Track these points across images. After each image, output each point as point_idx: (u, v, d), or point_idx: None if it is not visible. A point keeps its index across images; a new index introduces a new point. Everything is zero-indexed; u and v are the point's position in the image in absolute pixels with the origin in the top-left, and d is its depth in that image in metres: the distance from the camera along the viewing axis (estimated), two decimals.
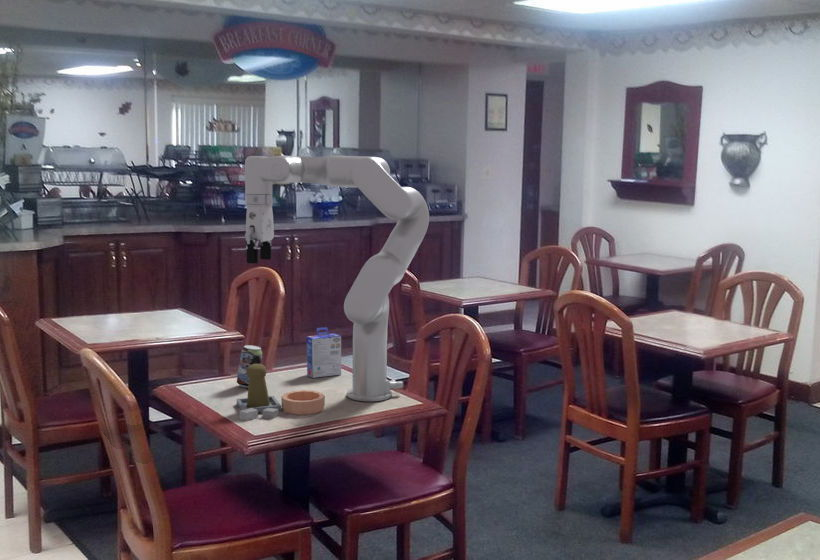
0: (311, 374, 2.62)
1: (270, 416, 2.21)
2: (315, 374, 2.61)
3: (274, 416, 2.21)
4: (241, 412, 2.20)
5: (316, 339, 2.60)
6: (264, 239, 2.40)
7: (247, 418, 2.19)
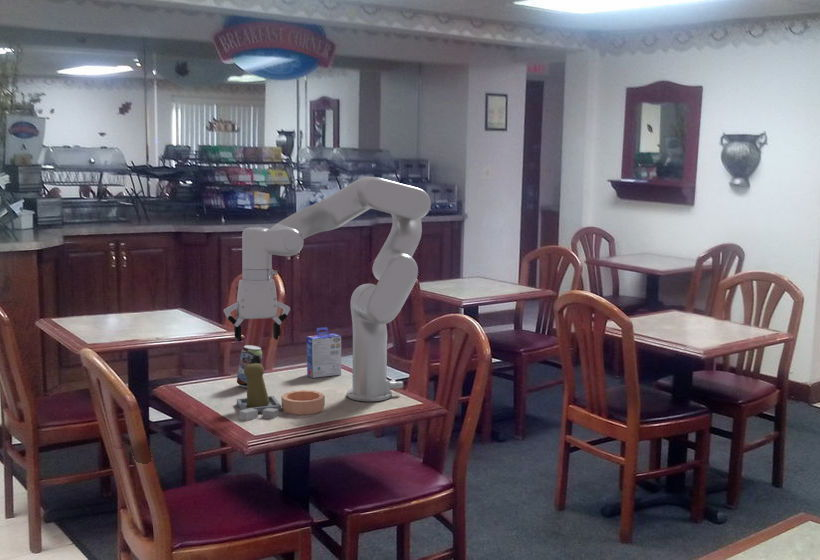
0: (311, 374, 2.62)
1: (270, 416, 2.21)
2: (315, 374, 2.61)
3: (274, 416, 2.21)
4: (241, 412, 2.20)
5: (316, 339, 2.60)
6: None
7: (247, 418, 2.19)
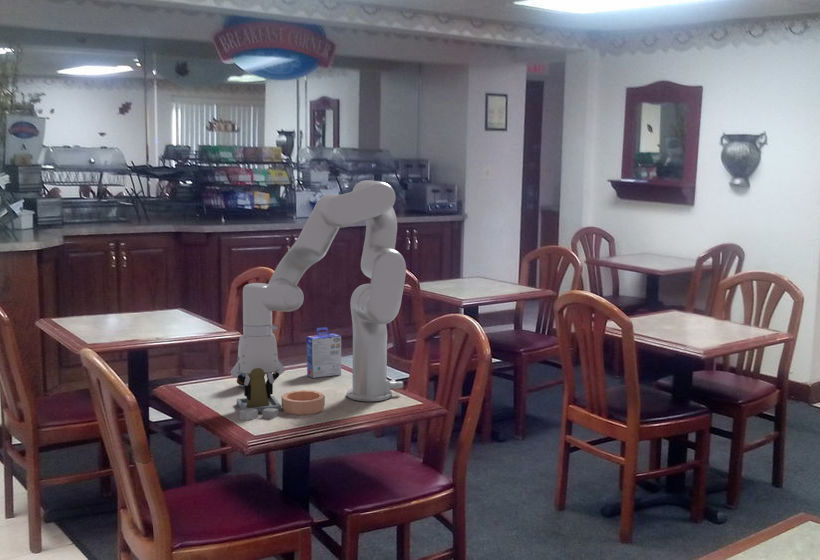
0: (311, 374, 2.62)
1: (270, 416, 2.21)
2: (315, 374, 2.61)
3: (274, 416, 2.21)
4: (241, 412, 2.20)
5: (316, 339, 2.60)
6: None
7: (247, 418, 2.19)
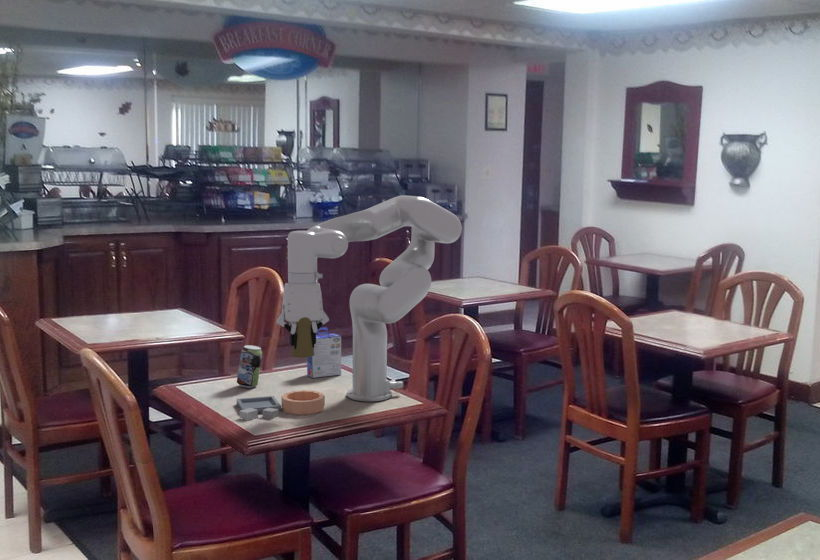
0: (311, 374, 2.62)
1: (270, 416, 2.21)
2: (315, 374, 2.61)
3: (274, 416, 2.21)
4: (241, 412, 2.20)
5: (316, 339, 2.60)
6: None
7: (248, 418, 2.19)
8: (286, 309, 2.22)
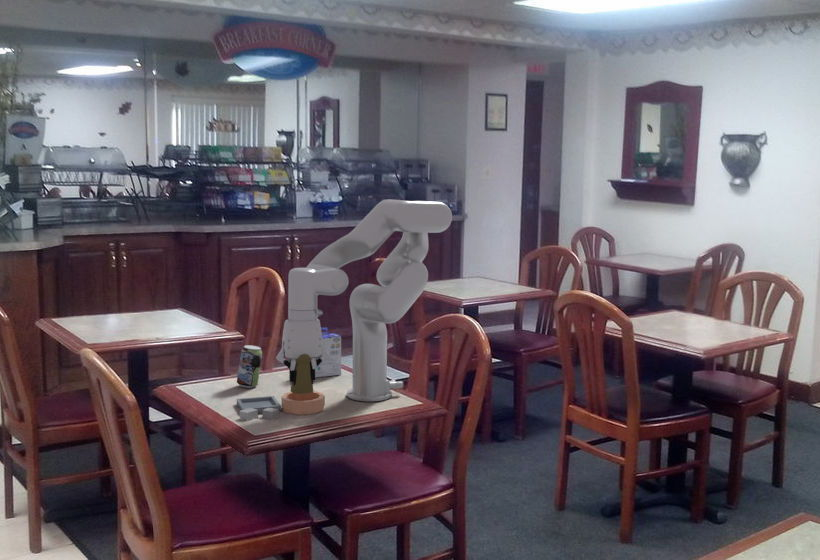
0: None
1: (269, 416, 2.21)
2: (315, 374, 2.61)
3: (273, 416, 2.21)
4: (241, 412, 2.20)
5: None
6: None
7: (248, 418, 2.19)
8: (286, 346, 2.24)
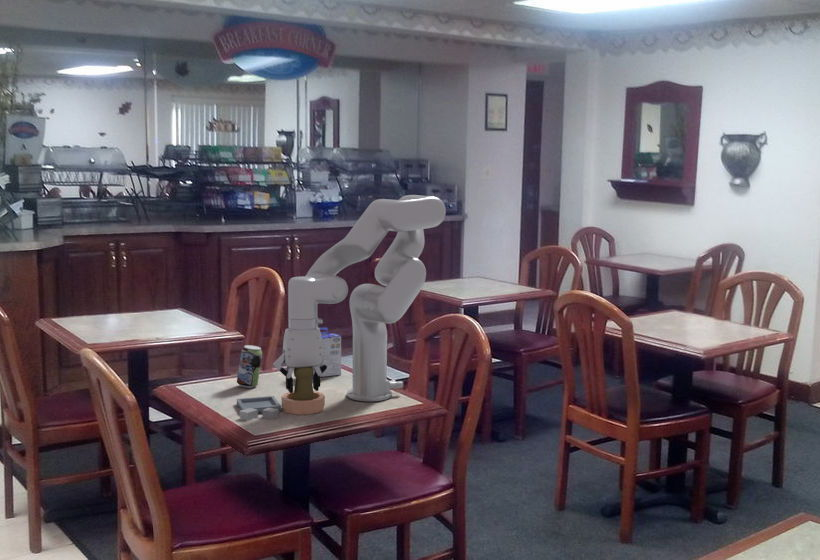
0: None
1: (269, 416, 2.21)
2: None
3: (273, 416, 2.21)
4: (241, 412, 2.20)
5: None
6: None
7: (248, 418, 2.19)
8: (286, 355, 2.24)
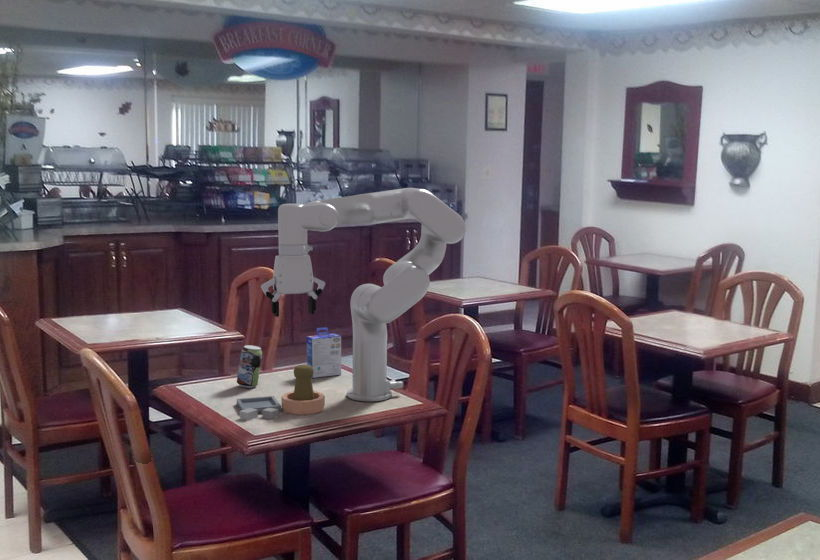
0: None
1: (269, 416, 2.21)
2: (315, 374, 2.61)
3: (273, 416, 2.21)
4: (241, 412, 2.20)
5: (316, 339, 2.60)
6: None
7: (249, 418, 2.19)
8: (277, 281, 2.26)
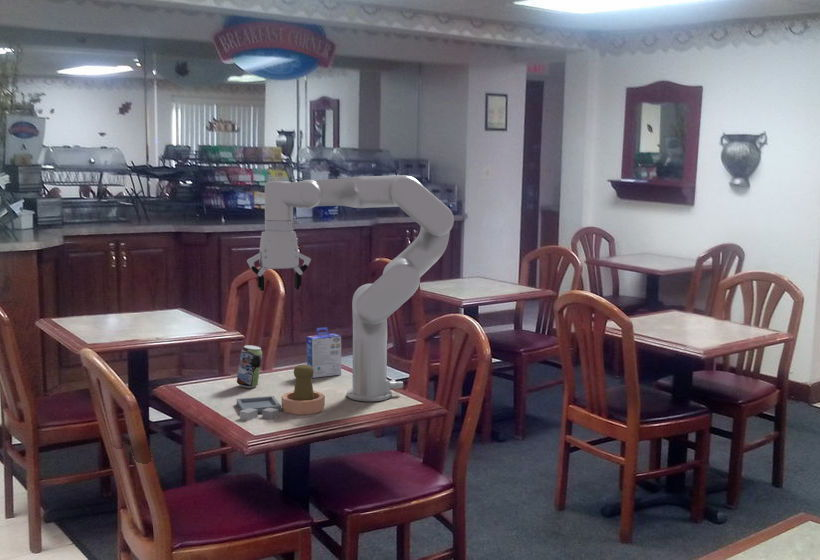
0: None
1: (269, 416, 2.21)
2: (315, 374, 2.61)
3: (273, 416, 2.21)
4: (242, 412, 2.20)
5: (316, 339, 2.60)
6: None
7: (249, 418, 2.19)
8: (263, 256, 2.31)
